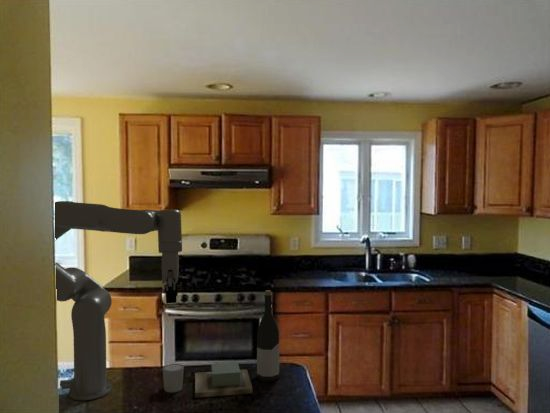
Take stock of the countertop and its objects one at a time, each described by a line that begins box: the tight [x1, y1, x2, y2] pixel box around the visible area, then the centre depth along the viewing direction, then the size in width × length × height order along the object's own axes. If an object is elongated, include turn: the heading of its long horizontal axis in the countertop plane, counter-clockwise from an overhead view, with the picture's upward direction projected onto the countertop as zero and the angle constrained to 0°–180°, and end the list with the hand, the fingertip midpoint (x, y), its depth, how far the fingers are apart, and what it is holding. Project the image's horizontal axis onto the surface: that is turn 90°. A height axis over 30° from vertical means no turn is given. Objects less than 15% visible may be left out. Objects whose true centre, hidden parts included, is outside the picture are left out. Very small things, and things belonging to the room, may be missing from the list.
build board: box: [194, 368, 253, 398], centre depth 145 cm, size 18×16×2 cm
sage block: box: [211, 361, 241, 386], centre depth 145 cm, size 9×9×4 cm
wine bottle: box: [256, 289, 280, 382], centre depth 152 cm, size 8×8×30 cm
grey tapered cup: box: [162, 363, 185, 393], centre depth 142 cm, size 7×7×7 cm
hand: (172, 299), depth 143 cm, fingers open, 9 cm apart
